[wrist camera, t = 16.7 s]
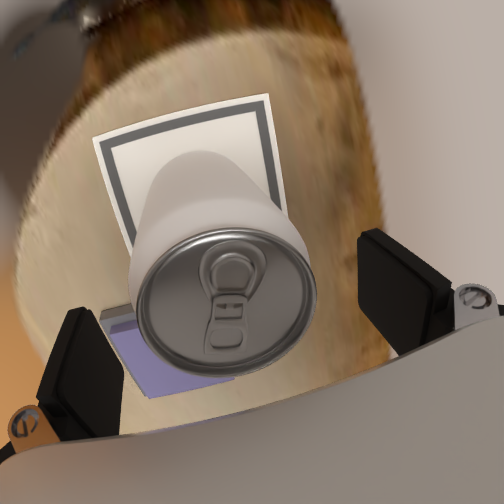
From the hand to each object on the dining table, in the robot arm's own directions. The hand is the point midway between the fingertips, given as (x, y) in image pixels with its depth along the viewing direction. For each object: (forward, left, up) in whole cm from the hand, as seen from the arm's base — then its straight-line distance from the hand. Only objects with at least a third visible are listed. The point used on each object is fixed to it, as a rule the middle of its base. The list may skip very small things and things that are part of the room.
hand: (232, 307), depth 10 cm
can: (0, 0, -11) cm, 11 cm away
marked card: (0, 0, -12) cm, 12 cm away
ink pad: (-4, +11, -12) cm, 16 cm away
